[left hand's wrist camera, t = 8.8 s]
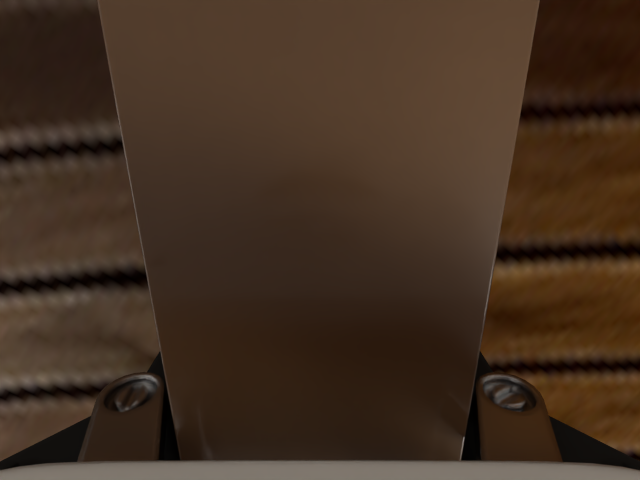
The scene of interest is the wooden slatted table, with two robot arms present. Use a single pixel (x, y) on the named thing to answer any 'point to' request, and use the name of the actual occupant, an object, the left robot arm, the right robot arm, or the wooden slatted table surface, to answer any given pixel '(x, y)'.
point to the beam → (319, 212)
